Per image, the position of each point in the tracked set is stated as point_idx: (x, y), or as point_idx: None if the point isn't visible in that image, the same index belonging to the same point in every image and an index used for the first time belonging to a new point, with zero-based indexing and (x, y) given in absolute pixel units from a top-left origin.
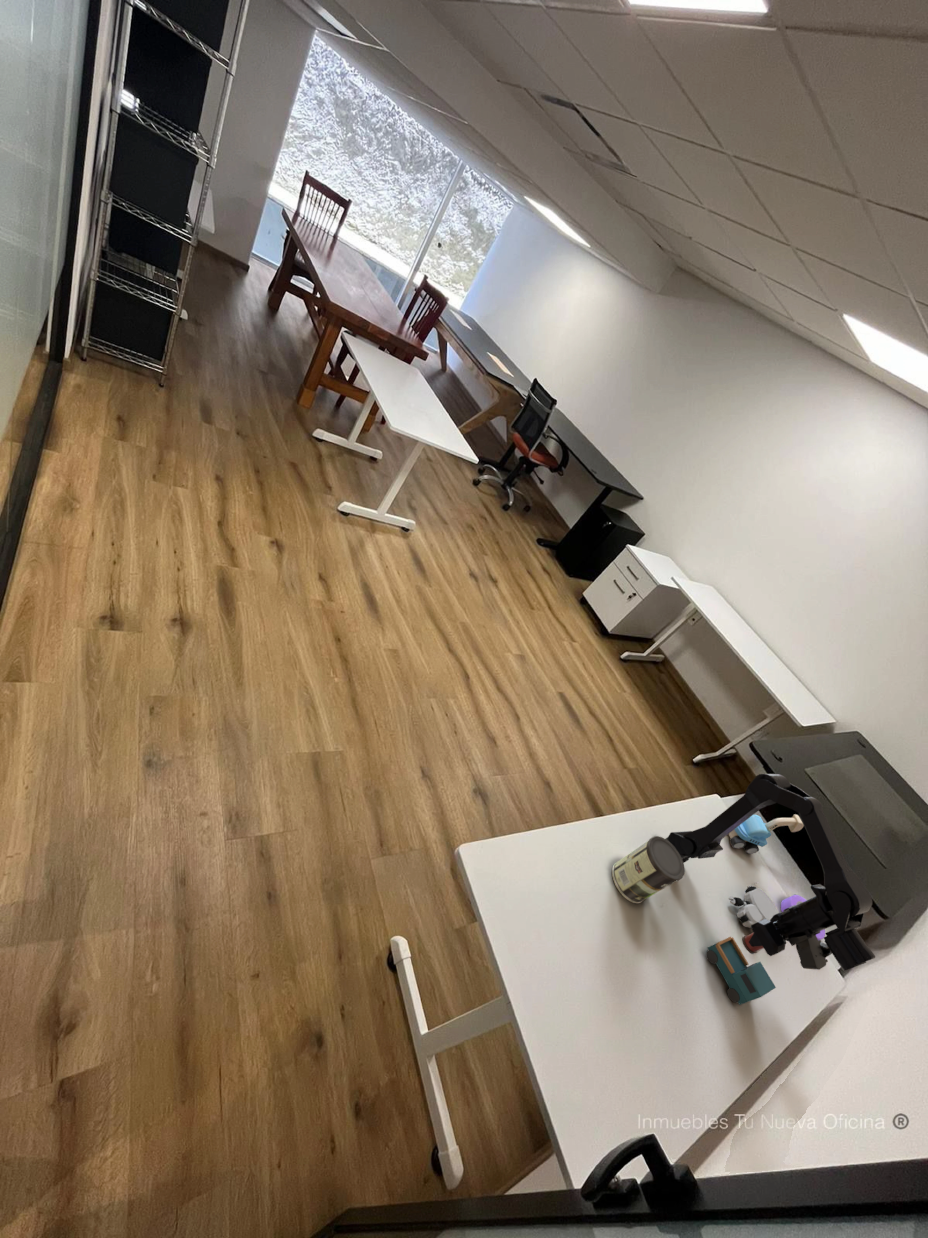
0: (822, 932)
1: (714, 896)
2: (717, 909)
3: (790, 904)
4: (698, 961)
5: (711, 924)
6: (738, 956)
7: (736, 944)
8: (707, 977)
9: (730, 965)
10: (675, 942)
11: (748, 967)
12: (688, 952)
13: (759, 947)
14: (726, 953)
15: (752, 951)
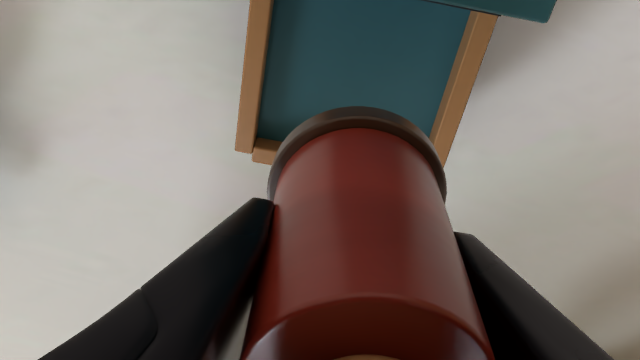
0: None
1: (56, 244)
2: (91, 203)
3: None
4: (511, 116)
5: (214, 180)
6: (279, 38)
7: (248, 112)
8: (542, 34)
9: (472, 57)
10: (557, 230)
11: (442, 4)
12: (528, 171)
13: (449, 234)
14: (382, 105)
15: (420, 154)
